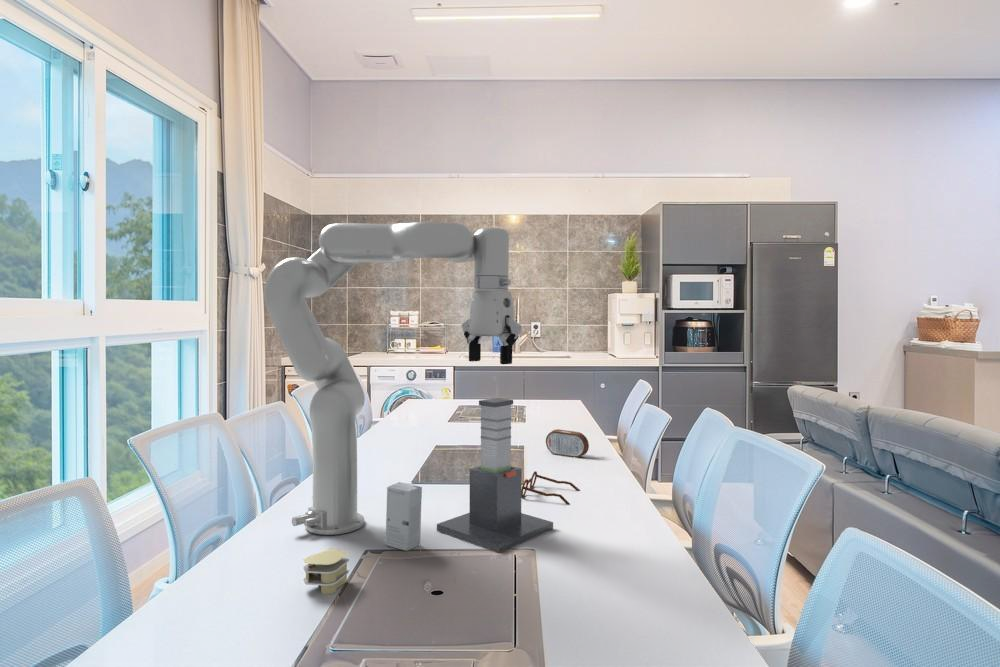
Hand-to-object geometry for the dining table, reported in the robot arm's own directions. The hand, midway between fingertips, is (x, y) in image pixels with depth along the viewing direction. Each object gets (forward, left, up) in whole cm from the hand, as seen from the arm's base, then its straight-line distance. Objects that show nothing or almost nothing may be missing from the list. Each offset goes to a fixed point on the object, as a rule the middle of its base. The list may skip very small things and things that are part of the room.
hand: (490, 362), depth 133 cm
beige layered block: (-41, 0, -37) cm, 55 cm away
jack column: (-1, -3, -29) cm, 29 cm away
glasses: (+28, +4, -37) cm, 47 cm away
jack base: (-1, -3, -36) cm, 37 cm away
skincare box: (-20, +5, -37) cm, 42 cm away
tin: (+67, +26, -37) cm, 81 cm away
